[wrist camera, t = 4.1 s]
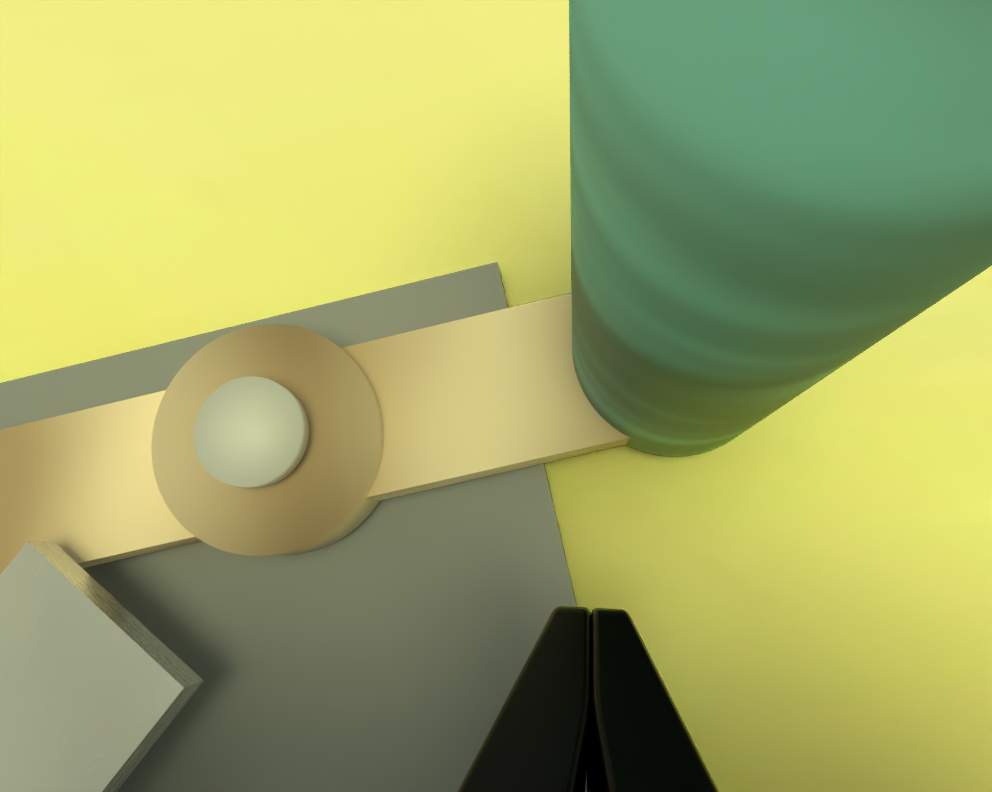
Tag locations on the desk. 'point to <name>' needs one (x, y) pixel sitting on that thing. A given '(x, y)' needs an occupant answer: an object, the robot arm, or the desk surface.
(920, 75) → the link
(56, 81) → the desk surface
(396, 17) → the desk surface
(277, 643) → the base plate
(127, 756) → the block
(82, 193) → the desk surface
